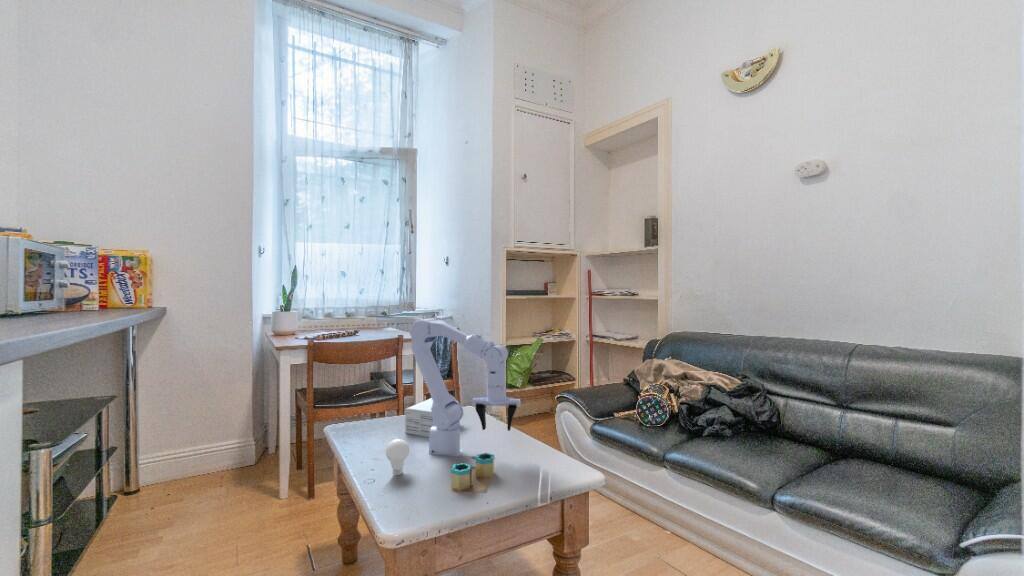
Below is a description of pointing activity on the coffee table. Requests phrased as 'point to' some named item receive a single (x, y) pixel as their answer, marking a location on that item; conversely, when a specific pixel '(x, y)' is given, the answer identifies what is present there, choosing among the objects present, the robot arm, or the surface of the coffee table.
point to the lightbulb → (397, 454)
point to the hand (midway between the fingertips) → (496, 429)
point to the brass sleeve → (484, 465)
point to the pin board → (477, 484)
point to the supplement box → (419, 418)
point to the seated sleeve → (461, 476)
